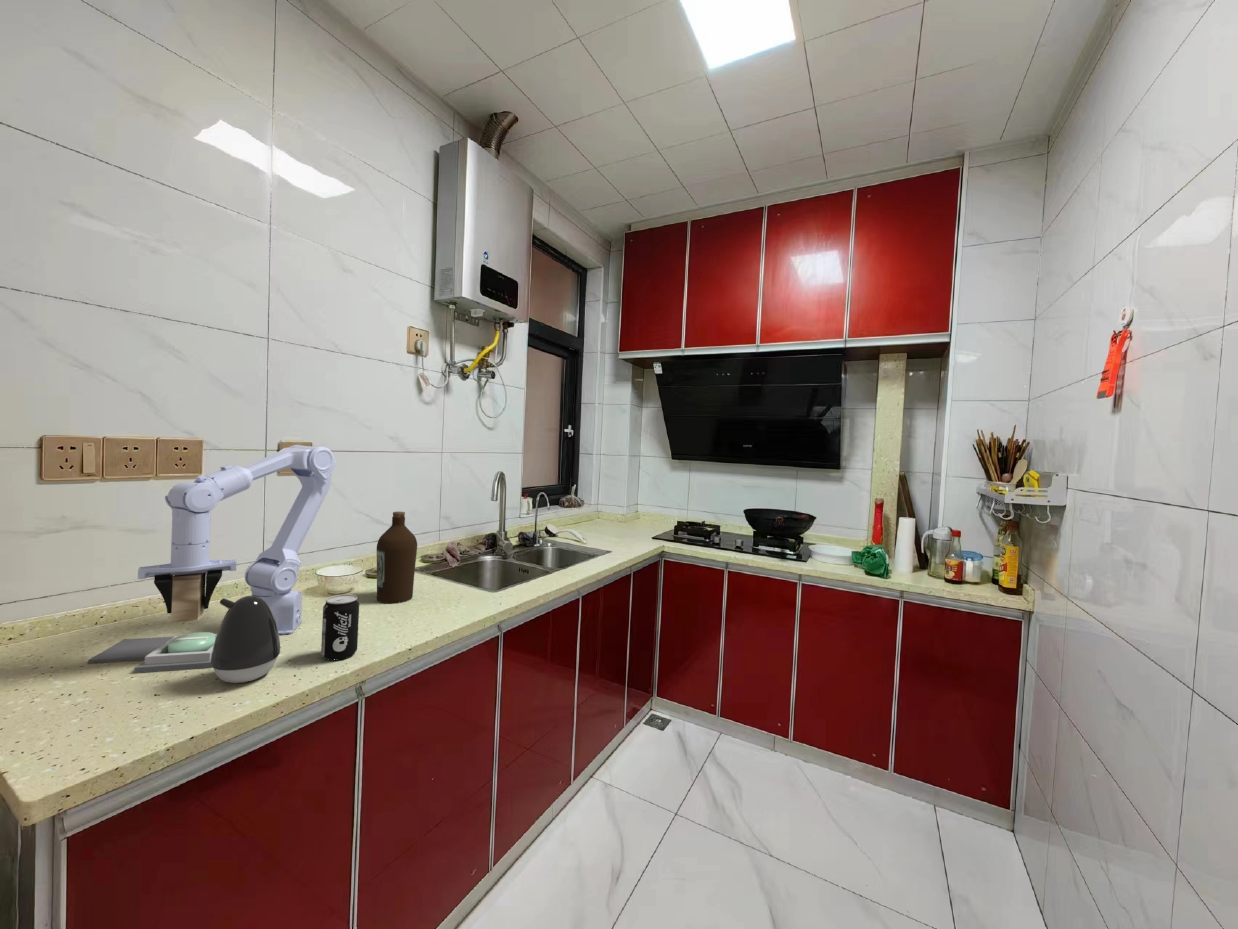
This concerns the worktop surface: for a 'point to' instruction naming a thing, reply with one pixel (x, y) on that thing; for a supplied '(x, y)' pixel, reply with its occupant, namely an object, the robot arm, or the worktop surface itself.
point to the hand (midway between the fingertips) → (188, 609)
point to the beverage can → (340, 626)
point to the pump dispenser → (245, 641)
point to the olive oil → (396, 562)
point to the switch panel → (174, 660)
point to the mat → (130, 649)
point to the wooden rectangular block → (188, 597)
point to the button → (191, 642)
